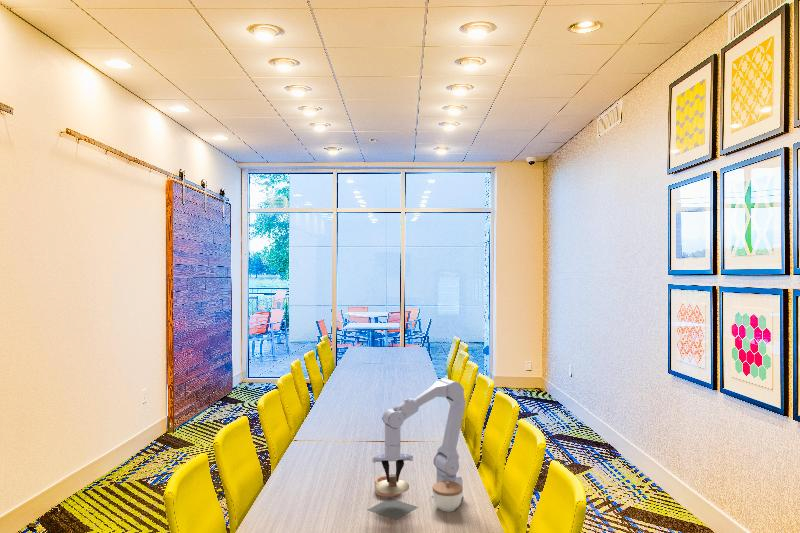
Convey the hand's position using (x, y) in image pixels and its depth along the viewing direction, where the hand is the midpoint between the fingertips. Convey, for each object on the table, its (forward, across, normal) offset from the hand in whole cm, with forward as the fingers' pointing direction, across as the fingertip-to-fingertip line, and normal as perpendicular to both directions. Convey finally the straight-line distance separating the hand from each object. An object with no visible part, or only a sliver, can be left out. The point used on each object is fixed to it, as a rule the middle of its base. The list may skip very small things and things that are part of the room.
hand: (392, 481), depth 201 cm
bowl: (+9, 0, -14) cm, 17 cm away
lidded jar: (+10, -20, +4) cm, 22 cm away
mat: (+9, 0, +2) cm, 10 cm away
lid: (+2, 0, 0) cm, 2 cm away
